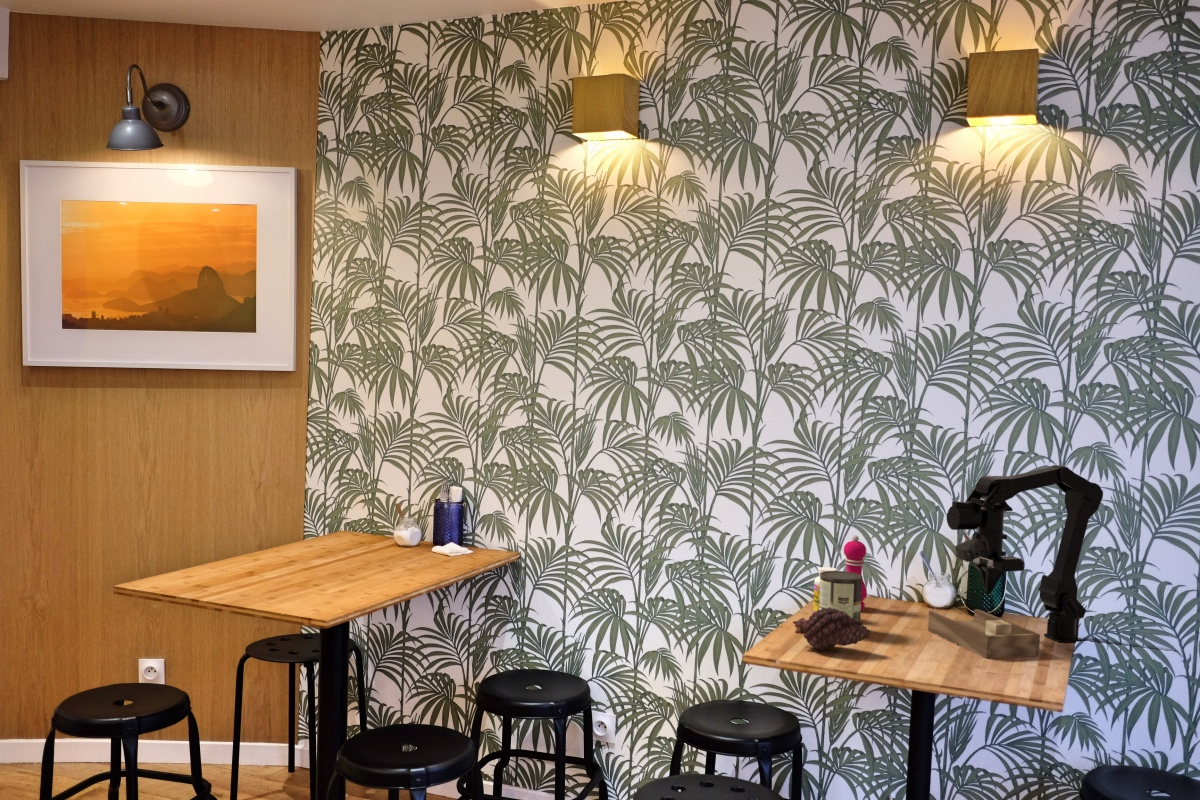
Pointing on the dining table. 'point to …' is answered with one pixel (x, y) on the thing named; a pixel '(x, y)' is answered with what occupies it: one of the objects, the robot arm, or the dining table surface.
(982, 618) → the tray
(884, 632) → the dining table surface
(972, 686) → the dining table surface
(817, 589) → the supplement bottle
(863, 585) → the pepper mill
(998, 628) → the beech block
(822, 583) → the coffee can
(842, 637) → the pine cone
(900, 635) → the dining table surface
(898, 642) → the dining table surface
